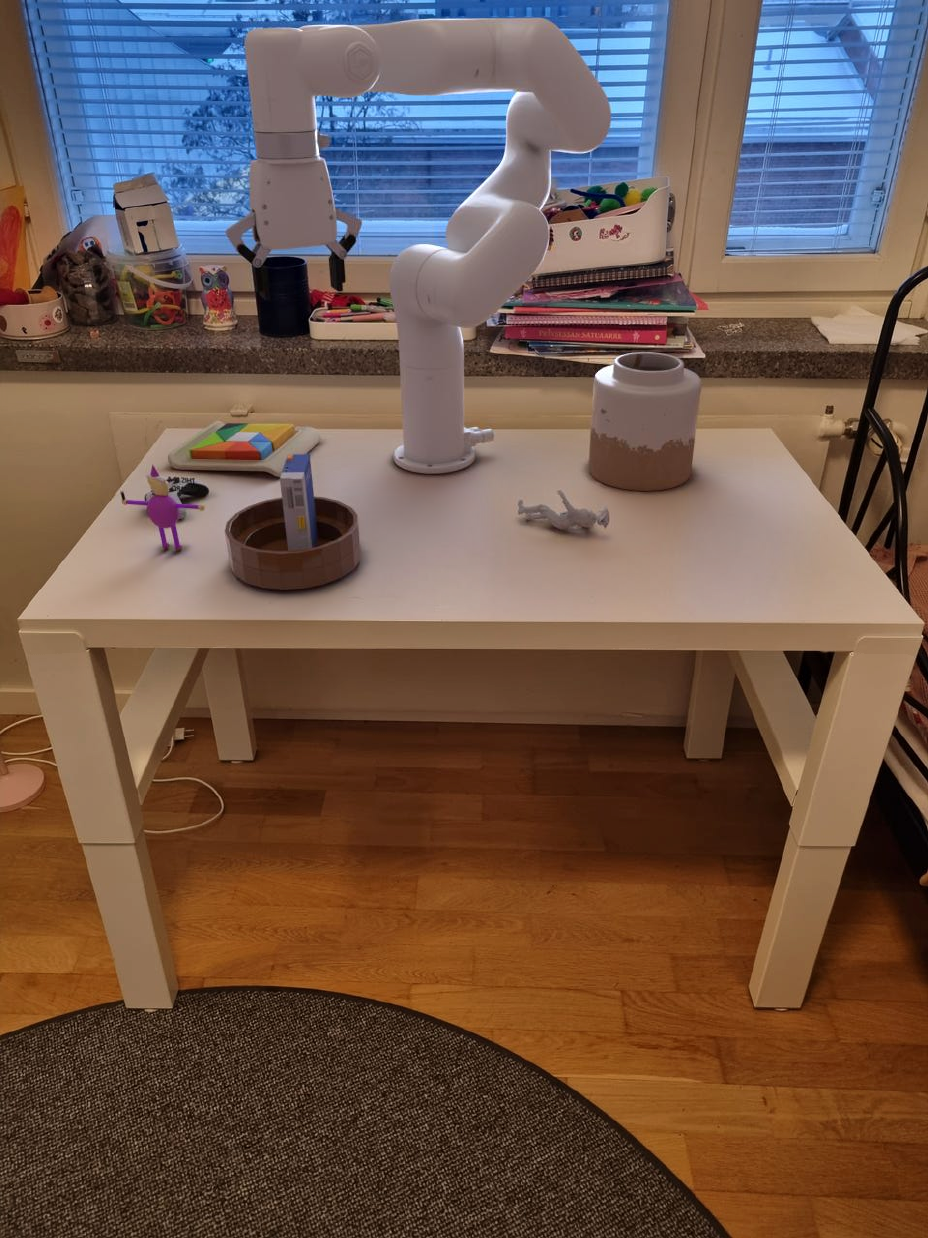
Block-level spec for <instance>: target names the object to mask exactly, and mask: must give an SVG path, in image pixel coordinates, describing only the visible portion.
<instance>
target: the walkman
mask: <svg viewBox="0 0 928 1238" xmlns="http://www.w3.org/2000/svg"><path fill="white" fill-rule="evenodd" d="M312 474H313V473H312V463H311V455H310V453H307V454H289V455H288V456H287V459H286V462H285V465H284V468H283V470H282V474H281V477H279V484H280V491H281V493H280V494H281V498H282V501H283V509H284V518H285V526H286V534H287V543H288V551H296V550H304V549H309V548H313V547H316V544H317V540H318V531H317V521H316V511H315V501H314V497H315V492H314V483H313V482H314V481H313V475H312Z"/></svg>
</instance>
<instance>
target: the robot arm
mask: <svg viewBox="0 0 928 1238" xmlns="http://www.w3.org/2000/svg"><path fill="white" fill-rule="evenodd" d="M244 54H245V62H246V63H245V65H246V72H247V80H248V88H249V98H250V107H251V116H252V117H251V118H252V124H253V133H254V134H253V135H254V143H255V153H256V159H254V160H250V163H249V211H250V212H249V214H247V215H246V216H243V218H240V220H238V221H237V222H235V223H234V224H233V225H231V226H230V227H228V228H227V229H226V230H225V235H226V237H227V238H228V241H230V243H231V245H232V246H233V248H234V249H235V251H236V252H237V253H238V254H239V255H240V256H241V257H243V258H244V260H246V261H247V262H249V263H250V264H251V270H252V278H253V286H254V290H255V292H256V293H259V296H260V297H261V298H262V299H263V300H264V301H267V300H270V299H271V298H272V297H271V288H270V280H269V271H268V267H267V266H265V262H266V260H267V258H268V257H269V255H270V253H271V252H272V251H279V250H290V249H303V248H311V247H312V248H313V247H322V246H325V247H326V249H328V250H329V251H330V255H329V257H328V269H329V280H330V282H329V283H330V287H331V288H332V289H333V290H335V291H337V292H338V293H339V292H340V293H341V292H344V284H345V283H347V282H346V281H347V280H346V267H345V260H346V258H347V257H348V254H349V252H350V251H351V249H352V248H353V247H354V246H355V244H356V242H357V237H358V236H359V233H360V231H361V228H362V226H363V221H362V219H360V218H358V217H356V216H353V215H352V214H350V213H347V212H345V211H344V210H341V209H339V208H337V207H336V205H335V199H334V193H333V187H332V183H331V179H330V174H329V169H328V166H327V163H326V159H325V158H324V157H321V156H320V155H321V154H322V149H324V148H327V147H328V148H329V147H330V145H331V139H330V136H329V134H322V133H321V132H320V130H318V123H317V122H318V121H317V109H316V97H317V96H318V97H319V96H320V97H321V96H322V97H332V98H342V99H343V98H344V99H351V98H357V97H360V96H362V95H365V94H366V93H388V94H389V93H390V94H397V95H403V96H421V97H422V96H424V97H425V96H430V97H431V96H434V97H436V96H446V95H447V96H448V95H461V94H462V95H463V94H464V95H465V94H479V93H496V92H497V93H499V92H513V93H514V92H515V94H514V95H513V96H512V98H511V99H510V102H509V105H508V106H507V107H508V108H507V111H506V118H505V133H506V134H505V146H504V153H503V157H502V159H501V162H500V164H499V165H498V166H497V167H496V168H495V170H494V171H493V172H492V173H491V174H490V176H488V177H487V178H486V179H485V180H484V181H483V183H481V185H479V186H478V187H477V188H476V189H475V190H474V191H473V192H472V193H471V194H470V195H469V196H468V197H467V198H466V199H465V200H464V201H463V202H462V203H461V204H460V205H459V206H458V207H457V208H456V209H455V211H454V212H453V213H452V214H451V216H450V218H449V219H448V221H447V225H446V228H445V241H446V244H447V247H448V248H447V247H444V246H439V245H434V244H429V243H427V244H426V243H420V244H414V245H410V246H408V247H406V248H405V249H403V250H402V251H401V252H400V253H398V255H397V256H396V257H395V259H394V260H393V261H392V262H393V263H392V266H391V268H390V271H389V278H388V279H389V282H388V284H389V294H390V299H391V303H392V308H393V313H394V316H395V317H394V318H395V322H396V327H397V339H398V354H399V377H400V398H401V400H400V401H401V418H402V419H401V421H402V440H403V443H402V444H401V445H399V446H398V447H397V448H396V449H394V452H393V461H394V463H395V464H396V465H397V466H398V467H400V468H401V469H404V470H406V471H409V472H412V473H416V474H417V473H418V474H427V475H428V474H429V475H431V474H433V475H437V474H447V473H452V472H453V473H454V472H457V471H460V470H463V469H465V468H467V467H469V466H470V465H471V464H473V462H474V461H475V458H476V454H475V449H474V448H473V447H475V446H476V445H477V444H480V443H489V442H493V441H494V439H495V434H494V431H493V429H492V428H487V429H481V430H480V428H479V426H474V427H469V428H467V427H466V426H465V348H464V339H463V333H462V329H471V328H475V327H479V326H481V325H482V324H484V323H486V322H487V321H488V320H489V319H491V318H492V317H493V316H494V315H495V314H496V313H497V312H498V311H499V310H501V308H502V307H503V306H504V305H505V304H506V303H507V302H508V301H509V300H510V299H511V298H512V297H513V296H514V295H515V293H517V292H518V291H519V289H521V287H522V286H523V285H525V284H526V282H527V281H528V280H529V279H530V278H531V277H532V276H533V275H534V273H536V271H537V270H538V269H539V267H540V266H541V264H542V262H544V259H545V257H546V254H547V251H548V249H549V243H550V226H549V223H548V219H547V218H546V215H545V214H544V213H543V211H542V208H544V206H545V204H546V203H547V200H548V199H549V196H550V193H551V187H552V152H560V153H561V152H562V153H568V154H586V153H590V152H592V151H594V150H596V149H598V148H599V147H600V146H601V145H602V144H603V142H605V140H606V138H607V136H608V135H609V132H610V128H611V122H612V110H611V106H610V102H609V98H608V96H607V94H606V92H605V90H604V88H603V87H602V86H601V84H600V82H599V81H598V79H597V78H596V76H595V75H594V73H593V72H592V70H591V69H590V67H589V66H588V64H587V63H586V62H585V60H584V59H583V57H582V56H581V54H580V53H579V52H578V50H577V48H576V47H575V46H574V44H573V43H572V41H571V40H570V39H569V38H568V37H567V35H566V34H565V33H564V32H563V31H562V30H561V29H560V28H559V27H558V26H557V25H556V23H553V21H550V20H549V19H547V18H544V17H502V18H501V17H496V18H495V17H494V18H493V17H492V18H489V17H487V18H425V19H424V18H423V19H409V20H408V19H407V20H401V21H396V22H395V21H394V22H389V23H376V24H375V23H374V24H355V25H354V24H353V25H351V24H350V25H348V24H313V25H311V24H309V25H303V26H300V27H298V28H296V27H260V28H258V27H257V28H253V29H251V30H249V31H248V32H247V33H246V35H245V38H244ZM338 221H339V222H341V223H343V224H345V225H346V227H347V228H346V231H345V234H344V235H343V236H342V237H341V239H340V240H339V241H338V240H337V238H338ZM249 230H251V234H252V238H253V241H254V242H256V243H255V244H254V245H253V248H252V249H250V248H249V247H248V246H247V245H246V244H245V242H244V241H243V239H242V236H243V235H244V234H246V233H247V232H248V231H249ZM461 328H462V329H461Z"/></svg>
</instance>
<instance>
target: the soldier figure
mask: <svg viewBox="0 0 928 1238" xmlns="http://www.w3.org/2000/svg"><path fill="white" fill-rule="evenodd" d="M556 494H558V495H559V496H560V498H561V499H562V504H563V505H564V507H565V509H566V510H567V511H566V510H565V511H561V512H560V513H559V514H558V513H556V511H555V510H554V509H552V508H551V507H550V506H549V505H547V504H544V503H539V504H537V505H532V506H524V505H523V500H522V499H518V502H517V506H518V509H517V514H518V515H523V514H525V515H524V520H525V521H531V520H547V521H548V522H549V523H550V524H551V525H552V526H553V527H554V528H556V529H558V530H561V531H564V530H569V529H572V528H574V527H583V528H585V529H587V528H592V527H593V526H595V524H597V525H598V526H603V528H604V529H606V528H607V527H608V526H609V523H610V513H609V509H608V506H607V505H606V506H605V507H604V508H603V510H602V511H601V510H598V511H596V512H595V513H594V512H593V510H591V509H590V510H588V509H586V508H575V507H574V506H573V505H572V504H571V503H570V501H569V500H568V499H567V496H566V495H565V493H564V492H563V491H562V490H557V491H556ZM598 512H599V513H598ZM597 514H598V515H597Z"/></svg>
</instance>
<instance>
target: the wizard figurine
mask: <svg viewBox="0 0 928 1238" xmlns="http://www.w3.org/2000/svg"><path fill="white" fill-rule="evenodd" d="M145 478H146V480H147V483H148V485H149V486H150V487H149V488H150V491H151V490H152V492H153V493H154V494H155V495H154V496H153V497H152V498H151V499H150V500H149V501H145V500H134V499H128V498H126V496H125V492H124V489H120V490H119V493H120V496H121V501H120V502H121V504H122V505H124V506H127V505H134V506H146V512H147V516H148V518H149V520H150V521H151V522H152V523H153V525H155V526H157V527H158V531H159V536H160V540H161V546H162V549H163V550H168V549H170V547H171V544H170V543H169V542H168V541H167V537H166V531H165V529H169V528H170V530H171V534H172V538H173V544H174V550H175V551H176V552H181V550H182V549H183V546H182V545H181V544H180V540H179V535H178V529H177V526H176V524H177V522H178V521H179V519H178V518H179V508H184V509H191V510H199V511H200V512H202V511H204V510H205V505H203V504H202V503H200V504H190V503H182V504H178V503H176V501H175V500H174V499H173V498H172V497H170V496H169V486H168V485H169V483H170V482H169V481H171V482H173V481H172V477H171V476H168V477H167V478H166V477H164V476H163V475H161V474H159V472H158V470H157V469H156V467H155V465H154V464H152V465H151V469H150V473H147V474H146V475H145ZM173 478H176V479H175V480H177V479H178V481H175V480H174V482H176V483H177V482H178V483H179V482H180V481H179V478H180V479H183V480H184V479H185V482H186V483H189V481H190V483H192V481H191V479H192V480H193V484H194V480H196V477H195V478H194V477H182V476H181V477H179V476H178V478H177V476H173ZM166 479H168V482H167V480H166ZM186 479H187V480H186ZM188 479H190V480H188ZM183 480H182V481H181V482H182V483H185V482H183ZM173 487H174V488H175V490H174V489H173ZM178 487H179V488H178ZM176 488H177V491H178V489H179V491H182V490H183V491H184V492H191V491H192V492H195V493H196V490H197V487H196V488H194V487H193V489H192V488H191V487H189V490H188V489H187V488H188V487H186V486H185V487H183V486H182V487H181V490H180V486H177V487H176V486H172V487H171V489H172V490H173V491H176ZM184 488H185V489H186V490H187V491H185V489H184ZM190 489H191V490H190Z"/></svg>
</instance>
